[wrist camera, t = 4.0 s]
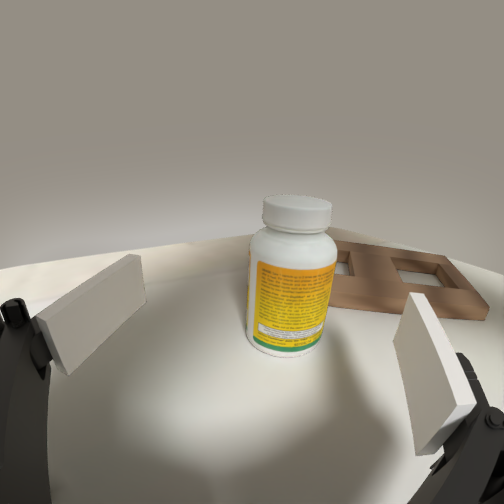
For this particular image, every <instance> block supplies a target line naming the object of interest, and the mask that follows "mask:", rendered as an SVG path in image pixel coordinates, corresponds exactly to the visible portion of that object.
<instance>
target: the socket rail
mask: <svg viewBox="0 0 504 504" xmlns="http://www.w3.org/2000/svg"><path fill="white" fill-rule="evenodd" d="M333 241H334V242H335V244H336V247H337V262H344V263H348V266H349V273H350V276H347V275H340V274H334V276H333V281H332V287H331V293H330V298H329V303H328V306H332V307H340V308H349V309H357V310H366V311H375V312H384V313H394V314H403V311H404V308H405V305H406V302H407V298H408V295H409V292H413V293H422V294H424V295H425V297H426V298H427V300H428V302H429V304H430V305H431V307H432V309H433V311H434V313H435V314H436V316H437V317H439V318H453V319H469V320H485V318H486V316H487V313H488V311H489V308H490V307H489V305H488V304H487V303H486V302H485V300H484V299H483V298H482V297H481V296H480V294H479V293H478V292H477V291H476V290H475V289H474V287H473V286H472V285H471V284H470V283H469V282H468V280H467V279H466V278H465V277H464V276H463V275H462V274H461V273H460V272H459V270H458V269H457V268H456V267H455V266H454V265H453V264H452V263H451V262H450V261H449V260H448V259H447V258H446V257H445V256H442V255H436V254H430V253H423V252H416V251H409V250H402V249H395V248H388V247H381V246H374V245H367V244H359V243H352V242H344V241H337V240H333ZM396 269H398V270H406V271H413V272H421V273H429V274H436V276H437V277H438V278H439V280H440V281H441V282H442V284H443V285H444V287H437V286H429V285H420V284H412V283H404V282H402V280H401V278H400V276H399V274H398V272H397V270H396Z"/></svg>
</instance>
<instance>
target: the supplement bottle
mask: <svg viewBox="0 0 504 504" xmlns="http://www.w3.org/2000/svg"><path fill="white" fill-rule="evenodd" d="M331 218H332V204H331V203H330V202H328V201H326V200H323V199H319V198H314V197H309V196H301V195H273V196H268V197H266V198H264V201H263V214H262V219H263V222H264V224H265V225H266V227H265V228H263V229H260V230H259V231H258V232H256V233H255V235H254V236H253V237H252V239H251V242H250V248H249V266H248V292H247V310H246V333H247V337H248V339H249V341H250V342H251V343H252V345H254V346H255V347H256V348H257V349H259V350H260V351H262V352H264V353H267V354H270V355H272V356H276V357H283V358H293V357H298V356H302V355H304V354H307V353H309V352H310V351H312V350H313V349H314V348H315V347H316V346H317V345H318V343H319V341H320V338H321V335H322V331H323V327H324V322H325V317H326V313H327V308H328V303H329V298H330V293H331V287H332V281H333V276H334V271H335V267H336V262H337V247H336V244H335V242H334V241H333V239H332V238H331V237H330V236H329V235H327V234H326V233H325V231H326V230H327V229H328V228H329V226H330V225H331Z"/></svg>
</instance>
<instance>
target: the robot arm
mask: <svg viewBox="0 0 504 504" xmlns="http://www.w3.org/2000/svg"><path fill="white" fill-rule="evenodd" d="M146 302H147V301H146V295H145V288H144V281H143V273H142V265H141V256H139V255H133V254H128V255H126V256H125V257H123V258H122V259H120V260H118V261H117V262H115V263H114V264H112V265H110V266H109V267H107V268H106V269H104V270H102V271H101V272H99V273H98V274H96V275H95V276H93V277H91V278H90V279H88V280H87V281H85V282H84V283H82V284H81V285H79V286H78V287H76V288H75V289H73V290H72V291H70V292H69V293H67V294H66V295H64V296H63V297H61V298H60V299H58V300H57V301H55V302H54V303H53V304H51V305H50V306H48V307H47V308H45V309H44V310H42V311H41V312H40V313H38V314H37V315H35V316H34V317H33V318H31V319H30V316H29V313H28V310H27V308H26V305H25V302H24V300H23V299H21V298H14V299H10V300H8V301H6V302H5V303H3V304H2V305H1V306H0V310H1V313H2V315H3V318H4V320H5V322H4V321H3V319H2V316H1V314H0V504H52V502H51V495H50V486H49V476H48V461H47V412H48V396H49V385H50V375H51V366H50V364H49V362H50V361H51V360H52V359H53V360H54V362H55V365H56V367H57V369H58V370H60V371H61V372H63V373H65V374H66V375H68V376H69V375H70V374H71V373H72V372H73V371H74V370H75V369H76V368H77V367H79V366H80V365H81V364H82V363H83V362H84V361H85V360H86V359H87V358H88V357H89V356H90V355H91V354H92V353H93V352H94V351H95V350H96V349H97V348H98V347H99V346H100V345H101V344H102V343H103V342H104V341H105V340H106V339H107V338H108V337H109V336H111V335H112V334H113V333H114V332H115V331H116V330H117V329H118V328H119V327H120V326H121V325H122V324H123V323H124V322H125V321H126V320H127V319H129V318H130V317H131V316H132V315H133V314H134V313H135V312H136V311H137V310H138V309H139V308H140V307H141V306H143V305H144V304H145V303H146ZM393 343H394V347H395V351H396V355H397V359H398V363H399V367H400V371H401V375H402V380H403V384H404V389H405V394H406V399H407V404H408V409H409V415H410V420H411V426H412V433H413V440H414V447H415V455H416V456H421V455H430V454H435V453H436V452H437V451H438V449H439V448H440V447H441V446H442V445H443V447H444V454H443V455H442V456H441V457H440V458H439V459H438V460H437V461H436V462H435V463H434V464H433V465H432V466H431V467H430V469H432V468H433V467H434V468H433V469H432V471H431V472H430V474H429V475H428V477H427V478H426V480H425V481H424V482H423V484H422V485H421V486H420V488H419V489H418V491H417V492H416V493H415V494H414V496H413V497H412V498H411V500H410V501H409V502H408V503H407V504H504V413H503V412H502V411H501V410H499V409H498V408H495V407H490V406H489V404H488V401H487V399H486V396H485V394H484V392H483V389H482V387H481V385H480V383H479V380H477V376H476V374H475V372H474V369H473V367H472V365H471V363H470V361H469V360H468V359H467V358H466V357H465V356H464V355H463V354H462V353H455V351H454V349H453V347H452V345H451V343H450V341H449V339H448V337H447V335H446V333H445V331H444V329H443V327H442V326H441V324H440V322H439V320H438V318H437V316H436V314H435V313H434V311H433V309H432V307H431V305H430V304H429V302H428V300H427V298H426V297H425V295H424V294H422V293H413V292H409V295H408V298H407V302H406V305H405V308H404V311H403V314H402V317H401V320H400V323H399V326H398V329H397V331H396V334H395V337H394V340H393Z"/></svg>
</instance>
